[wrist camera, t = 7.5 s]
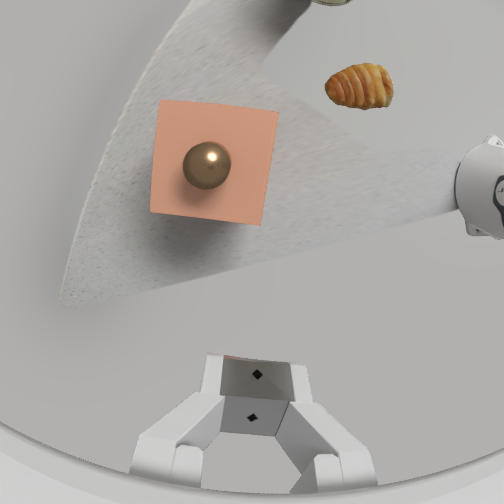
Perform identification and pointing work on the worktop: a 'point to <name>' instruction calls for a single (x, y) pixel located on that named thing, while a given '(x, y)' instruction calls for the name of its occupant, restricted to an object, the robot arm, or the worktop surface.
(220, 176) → the plunger
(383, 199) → the worktop surface
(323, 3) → the coffee can
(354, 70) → the pastry
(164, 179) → the block
